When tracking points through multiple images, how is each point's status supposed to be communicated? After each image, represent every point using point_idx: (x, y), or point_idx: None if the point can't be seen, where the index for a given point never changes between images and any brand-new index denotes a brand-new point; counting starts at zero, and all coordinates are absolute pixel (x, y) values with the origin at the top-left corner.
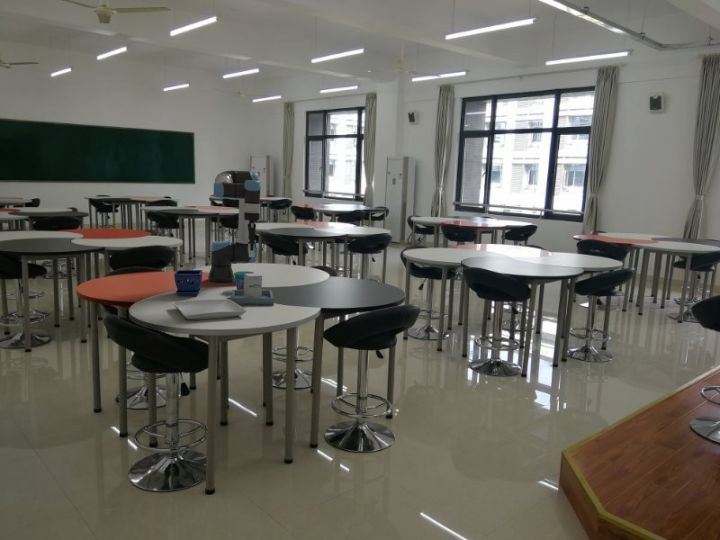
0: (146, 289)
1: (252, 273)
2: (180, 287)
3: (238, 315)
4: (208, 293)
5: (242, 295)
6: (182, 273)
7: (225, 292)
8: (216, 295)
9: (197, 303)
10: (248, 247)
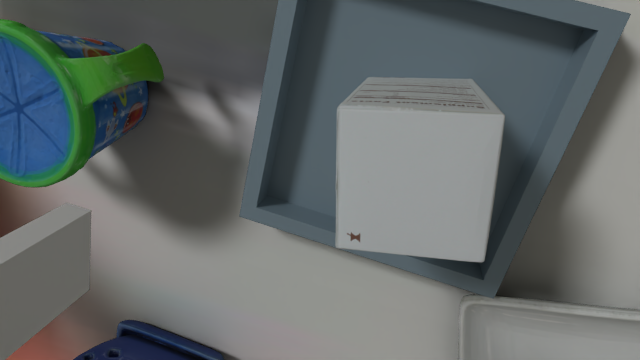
0: None
1: (26, 46)
2: None
3: None
4: (163, 286)
5: (286, 154)
6: None
7: (144, 201)
8: (214, 266)
9: None
10: (9, 352)
